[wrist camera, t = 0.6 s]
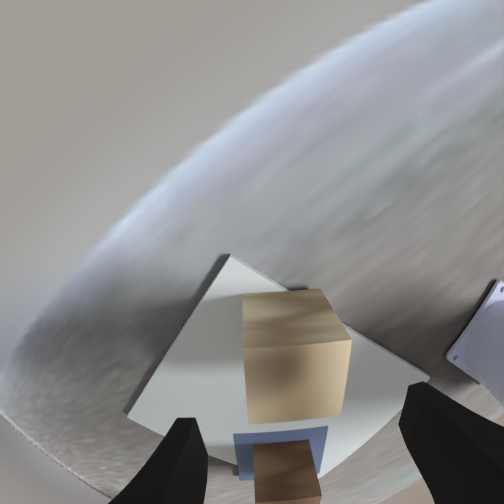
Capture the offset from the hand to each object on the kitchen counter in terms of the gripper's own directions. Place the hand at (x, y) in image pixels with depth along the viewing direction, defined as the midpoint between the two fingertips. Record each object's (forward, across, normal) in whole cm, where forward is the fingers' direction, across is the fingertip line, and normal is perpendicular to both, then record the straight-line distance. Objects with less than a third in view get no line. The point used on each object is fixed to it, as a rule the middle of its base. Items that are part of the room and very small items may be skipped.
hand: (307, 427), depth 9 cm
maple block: (+10, 0, +1) cm, 10 cm away
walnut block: (+10, +1, +15) cm, 18 cm away
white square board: (+10, +1, +10) cm, 14 cm away
